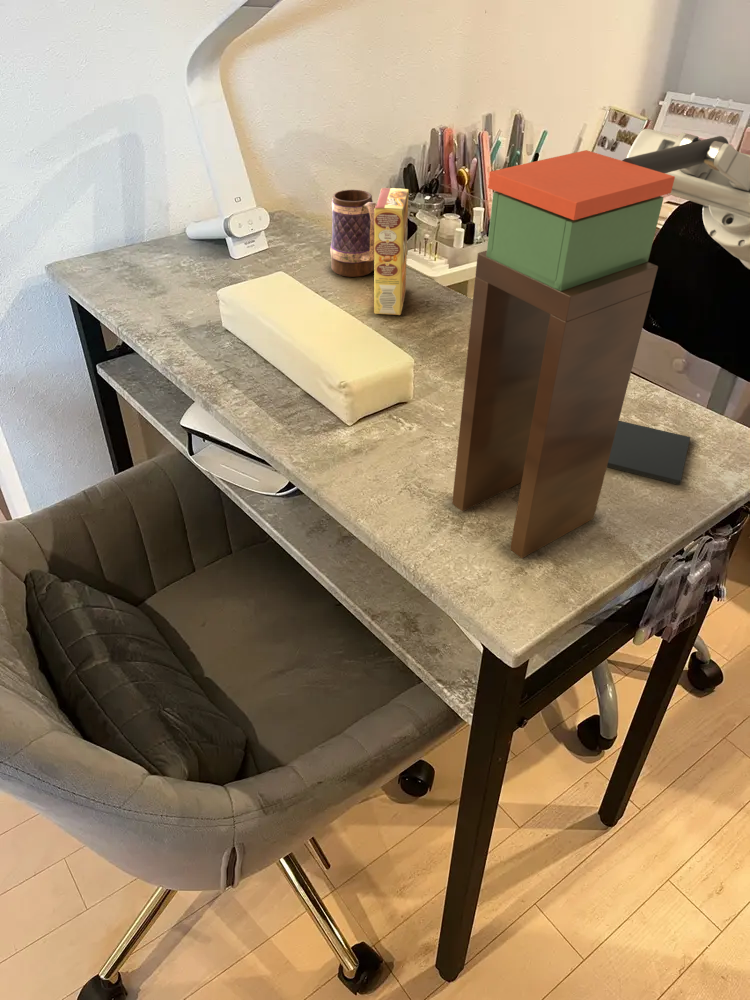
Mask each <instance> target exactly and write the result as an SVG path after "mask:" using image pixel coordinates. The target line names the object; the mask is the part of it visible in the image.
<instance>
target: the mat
mask: <svg viewBox="0 0 750 1000" xmlns="http://www.w3.org/2000/svg"><path fill="white" fill-rule="evenodd" d="M690 442H691V437H690V436H688V435H683V434H678V433H675V432H670V431H667V430H661V429H656V428H653V427H648V426H644V425H640V424H635V423H631V422H626V421H622V420H619V421H618V425H617V429H616V433H615V437H614V441H613V445H612V449H611V453H610V457H609V460H608V464H607V468H609V469H614V470H618V471H621V472H625V473H629V474H633V475H637V476H642V477H646V478H649V479H654V480H656V481H657V480H658V481H662V482H665V483H669V484H674V485H677V486H681V482H682V478H683V473H684V469H685V466H686V465H685V464H686V459H687V455H688V452H689V451H688V449H689V446H690Z"/></svg>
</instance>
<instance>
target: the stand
mask: <svg viewBox="0 0 750 1000" xmlns="http://www.w3.org/2000/svg"><path fill="white" fill-rule="evenodd" d="M486 254H487V250H484V251H480V252H477V255H476V256H477V257H476V266H475V277H474V284H473V285H474V286H473V295H472V304H471V314H470V316H471V317H470V324H469V334H468V343H467V352H466V353H467V354H466V364H465V373H464V383H463V393H462V395H463V396H462V403H461V411H460V413H461V414H460V423H459V432H458V434H459V435H458V443H457V453H456V463H455V471H454V481H453V491H452V500H451V502H452V503H451V504H452V505H453V506H455V507H456V508H458V509H459V510H460V511H461V512H465V511H466V510H468V509H470V508H473V507H474V506H476V505H479V504H481V503H483V502H484V501H486V500H489V499H491V498H493V497H495V496H497V495H499V494H501V493H503V492H505V491H507V490H509V489H511V488H513V487H515V486H517V485H519V484H520V490H519V493H518V494H519V495H518V500H517V507H516V513H515V519H514V525H513V529H512V534H511V535H512V536H511V541H510V548H509V550H510V551H512V552H513V553H514V554H515V555H517V556H518V557H519V558H521V559H524V558H525V557H527V556H529V555H531V554H533V553H535V552H536V551H538V550H540V549H542V548H544V547H545V546H547V545H549V544H551V543H552V542H554V541H556V540H557V539H559V538H561V537H563V536H565V535H567V534H569V533H570V532H573V531H574V530H576V529H578V528H580V527H581V526H583V525H584V524H586V523H589V522H590V521H592V520H593V519H594V518H595V515H596V511H597V507H598V503H599V499H600V495H601V492H602V488H603V483H604V480H605V476H606V472H607V468H608V467H607V464H608V460H609V457H610V453H611V449H612V445H613V441H614V437H615V433H616V429H617V425H618V421H620V418H621V413H622V409H623V405H624V402H625V398H626V394H627V390H628V386H629V383H630V379H631V374H632V370H633V367H634V363H635V358H636V354H637V350H638V347H639V342H640V339H641V335H642V331H643V327H644V323H645V320H646V316H647V311H648V308H649V304H650V300H651V296H652V292H653V288H654V285H655V280H656V277H657V272H658V270H659V266H658V265H656V264H654V263H652V262H649V261H648V262H645V263H642V264H639V265H636V266H633V267H631V268H628V269H625V270H622V271H619V272H616V273H613V274H610V275H607V276H604V277H601V278H598V279H595V280H592V281H589V282H586V283H584V284H581V285H578V286H575V287H572V288H569V289H566V290H563V291H559V290H556V289H554V288H552V287H550V286H548V285H546V284H544V283H542V282H539V281H537V280H535V279H533V278H531V277H529V276H527V275H524V274H522V273H520V272H518V271H516V270H514V269H512V268H510V267H507V266H505V265H503V264H501V263H499V262H497V261H495V260H492V259H490V258H488V257H486Z"/></svg>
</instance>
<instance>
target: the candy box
mask: <svg viewBox="0 0 750 1000" xmlns="http://www.w3.org/2000/svg"><path fill="white" fill-rule="evenodd" d="M409 193H410V189H408V188H397V187H396V188H395V187H392V188H391V187H382V188H381V189H380V191H379V194H378V198H377V201H376V206H375V209H374V269H373V271H374V273H373V274H374V275H373V277H374V278H373V279H374V281H373V282H374V288H373V289H374V292H373V295H374V298H373V299H374V301H373V306H374V307H373V313H374V314H375V315H392V316H400V315H401V314H402V311H403V307H404V301H405V298H406V297H405V296H406V290H407V260H408V259H407V257H408V256H407V255H408V254H407V253H408V252H407V251H408V229H409V228H408V225H409V224H408V221H409V220H408V219H409V195H410V194H409Z"/></svg>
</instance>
